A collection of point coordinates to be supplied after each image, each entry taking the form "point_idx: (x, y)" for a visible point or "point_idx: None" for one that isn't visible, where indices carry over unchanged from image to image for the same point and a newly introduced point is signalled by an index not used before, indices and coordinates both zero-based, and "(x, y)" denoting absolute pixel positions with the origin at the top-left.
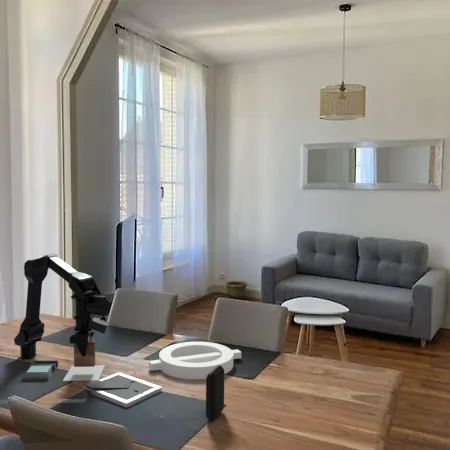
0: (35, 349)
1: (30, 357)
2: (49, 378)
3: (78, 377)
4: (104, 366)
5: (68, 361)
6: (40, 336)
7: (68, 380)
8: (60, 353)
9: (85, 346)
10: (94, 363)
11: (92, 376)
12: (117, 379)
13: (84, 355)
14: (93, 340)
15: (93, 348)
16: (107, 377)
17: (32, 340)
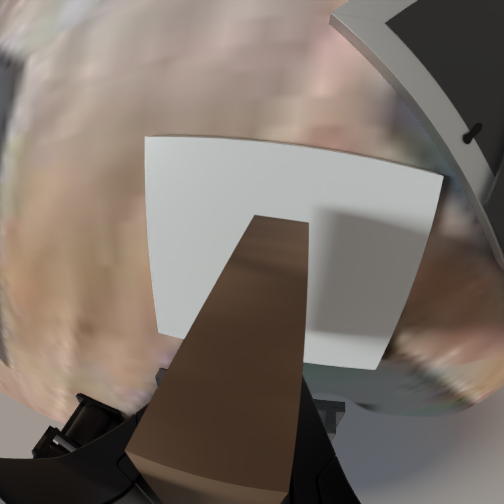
0: (86, 425)
1: (116, 425)
2: (323, 410)
3: (358, 304)
4: (166, 136)
5: (92, 328)
6: (60, 451)
7: (384, 348)
8: (43, 340)
9: (345, 486)
10: (294, 230)
11: (366, 216)
12: (473, 48)
13: (302, 379)
14: (160, 474)
15: (298, 365)
16: (431, 107)
17: (72, 448)
